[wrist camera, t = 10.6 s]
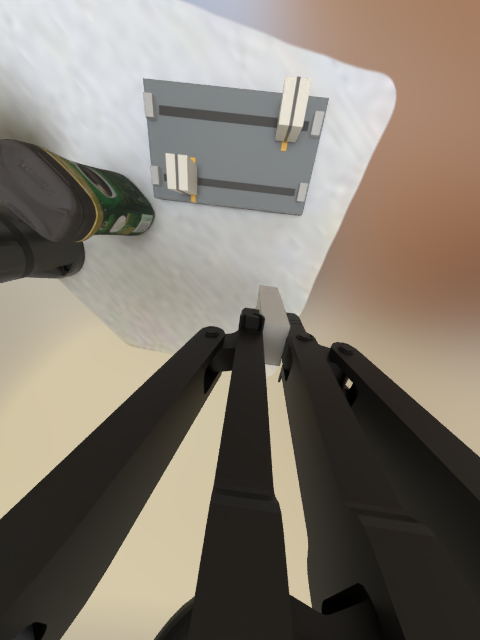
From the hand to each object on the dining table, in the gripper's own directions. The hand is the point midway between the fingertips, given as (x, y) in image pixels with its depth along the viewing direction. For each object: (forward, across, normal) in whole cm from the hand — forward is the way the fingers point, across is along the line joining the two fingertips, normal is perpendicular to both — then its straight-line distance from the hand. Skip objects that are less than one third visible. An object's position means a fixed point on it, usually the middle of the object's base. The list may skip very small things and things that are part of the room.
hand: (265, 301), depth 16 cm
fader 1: (+22, -14, +11) cm, 28 cm away
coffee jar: (+25, -26, +6) cm, 36 cm away
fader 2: (+22, +1, +19) cm, 29 cm away
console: (+24, -7, +15) cm, 29 cm away
